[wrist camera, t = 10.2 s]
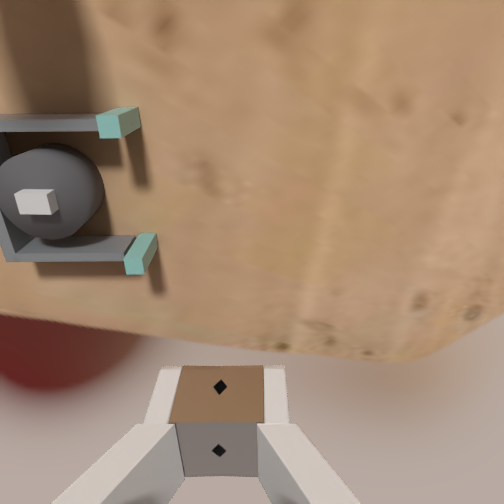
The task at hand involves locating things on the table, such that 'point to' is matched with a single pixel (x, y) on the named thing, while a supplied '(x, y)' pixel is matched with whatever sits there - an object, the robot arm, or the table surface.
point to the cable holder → (74, 247)
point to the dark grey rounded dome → (50, 190)
